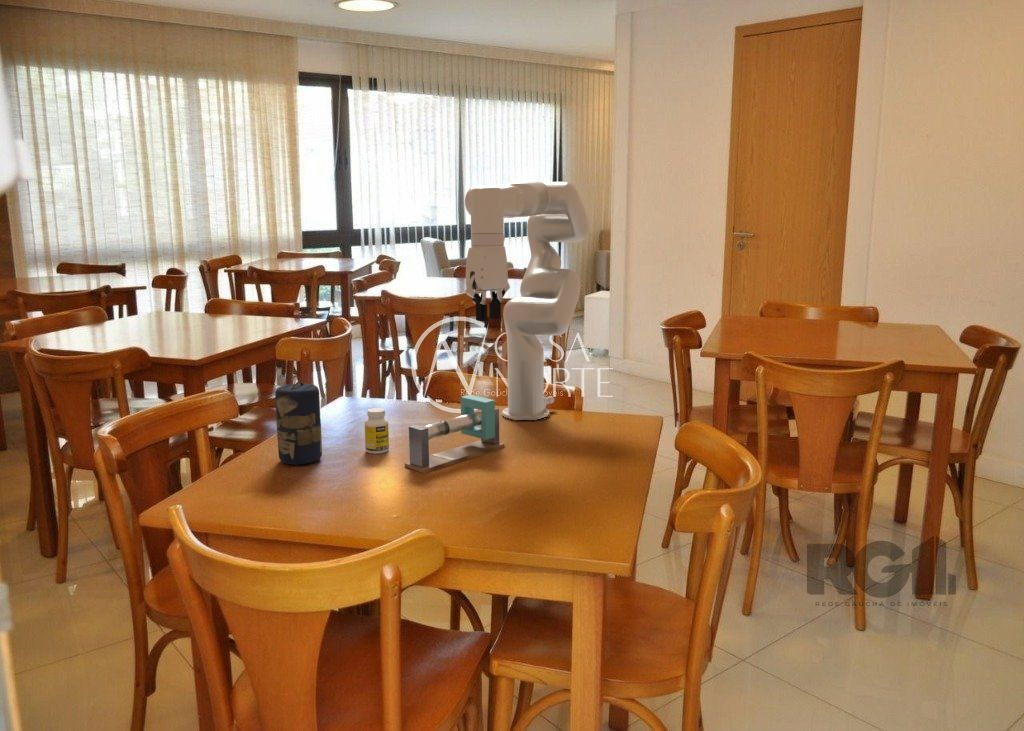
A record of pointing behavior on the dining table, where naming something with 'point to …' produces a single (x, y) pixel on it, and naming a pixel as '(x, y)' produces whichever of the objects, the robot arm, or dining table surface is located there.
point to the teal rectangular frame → (487, 416)
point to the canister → (298, 423)
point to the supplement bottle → (376, 431)
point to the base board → (456, 455)
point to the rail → (423, 434)
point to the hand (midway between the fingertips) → (488, 319)
